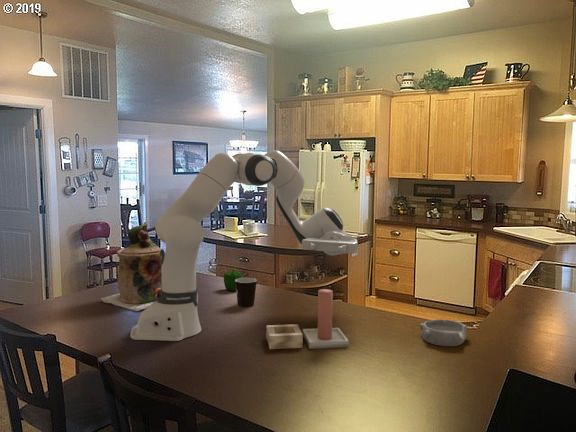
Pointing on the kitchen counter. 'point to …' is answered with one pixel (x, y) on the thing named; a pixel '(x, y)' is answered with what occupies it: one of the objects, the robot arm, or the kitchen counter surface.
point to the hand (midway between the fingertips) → (326, 248)
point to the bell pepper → (231, 279)
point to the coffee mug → (245, 291)
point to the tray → (335, 342)
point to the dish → (443, 332)
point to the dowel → (325, 314)
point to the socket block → (284, 336)
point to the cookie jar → (138, 271)
